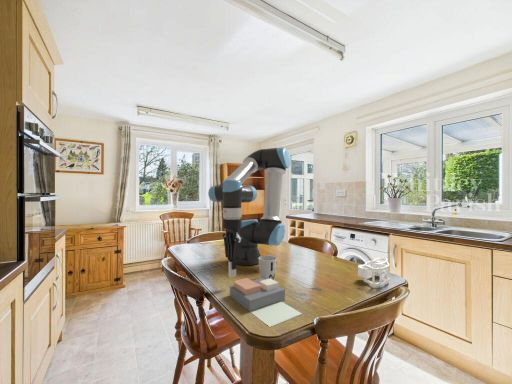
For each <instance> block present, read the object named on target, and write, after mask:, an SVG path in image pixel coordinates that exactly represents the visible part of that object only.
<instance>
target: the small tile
mask: <svg viewBox="0 0 512 384" xmlns="http://www.w3.org/2000/svg"><path fill="white" fill-rule="evenodd" d="M259 285H260V287H261V288H263V289H265V290H266V291H270V290H273V289H276V288H278V286H279V281H276V280H275V279H274V280H272V279H270V278H269V279H266V280H262V281H259Z"/></svg>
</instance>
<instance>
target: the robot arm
mask: <svg viewBox="0 0 512 384" xmlns="http://www.w3.org/2000/svg"><path fill="white" fill-rule="evenodd" d="M290 165H291V157H290V154H289V152H288V150H287V148H285V147H272V148H261V149H257V150H255V151H253V152H252V153H250V154H249V155H247V157H245V158H244V159H243V161H242V163H241V164H240V165H239V166H237V168H236V169H235V170H234V171H233V172H232V173H230V175H228V176H227V178H226V179H224V180H223V181H222V182H221V183H220V184H219V185H212V186H211V187H209V189H208V198H209V200H210V201H212V202H214V203H222V210H221V211H222V217H223V219H222V228H223V229H224V230H225V232H224V233H222V239H223V246H224V254H225V258H226V259H227V261H228V278H230V279H232V278H235V277H237V265H240V266H254V265H259V259H258V258H259V257H260V256H261V254H260V250H259V246H258V245H264V246H268V247H269V246H271V247H273V246H274V247H278V246H280V245H281V244H282V242H283V240H284V238H285V233H286V229H285V228H286V226H285V224H283V223H282V219H281V218H280V214H281V213H280V210H281V199H282V188H283V187H282V186H283V175H284V174H286V169H289V168H290ZM260 170H264V171H265V173H266V181H265V182H266V183H265V185H266V186H265V194H264V195H265V196H264V205H263V215H262V217H261V218H260V219H259V221H258V219H245V220H242V211H243V210H242V203H248V204H249V203H252V202H254V201H255V200H256V198H257V196H258V193H257V192H258V191H257V189H256V188H255V187H254V186H252V185H242V184H244V182H245V181H246V180H248V178H249V177H250V176H252V174H254V173H256V172H257V171H260Z"/></svg>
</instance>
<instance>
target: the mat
mask: <svg viewBox="0 0 512 384" xmlns="http://www.w3.org/2000/svg"><path fill="white" fill-rule="evenodd" d="M250 313H251V314H253V315H254V316H255V317H256V318H257V319H258V320H260V321H261V322H262V323H264V324H265V325H266V326H267V325H268V326H267V327H268V328H272V327H274V325H275V326H277V325H279V324H283V323H286V322H288V321H290V320H293V319H295V318H298V317H301V316H302V315H303V313H302V312H300V311H298V310H297V309H295V308H294V307H292V306H290V305H288V304H286V302H284V301H282V302H279V303H276V304H273V305H270V306H267V307H263V308H260V309H257V310H254V311H251V312H250ZM271 326H272V327H271Z"/></svg>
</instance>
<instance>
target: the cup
mask: <svg viewBox="0 0 512 384" xmlns="http://www.w3.org/2000/svg"><path fill="white" fill-rule="evenodd" d="M258 259H259V263H258V269H259V270H258V271H259V275H260V278H264V279H265V280H266V279H269V278H270V279H272V280H274V281H275V277H276V272H277V271H276V270H277V257H276V256H274V255H260V257H259V258H258Z"/></svg>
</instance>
